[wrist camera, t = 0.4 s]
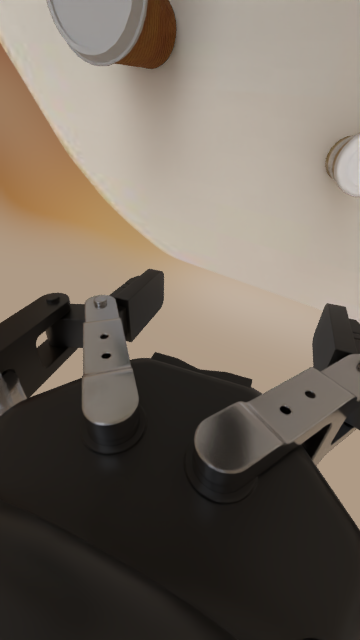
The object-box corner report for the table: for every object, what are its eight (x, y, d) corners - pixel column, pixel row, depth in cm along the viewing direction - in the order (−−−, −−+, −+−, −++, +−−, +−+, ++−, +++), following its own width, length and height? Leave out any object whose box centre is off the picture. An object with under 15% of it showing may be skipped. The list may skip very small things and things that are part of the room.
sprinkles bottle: (374, 170, 31) (412, 182, 20) (328, 188, 33) (342, 207, 22) (367, 125, 29) (405, 113, 18) (320, 147, 31) (330, 148, 21)
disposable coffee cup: (189, 83, 33) (143, 56, 23) (120, 88, 35) (54, 67, 26) (191, -41, 28) (133, -139, 18) (109, -23, 30) (22, -100, 21)
